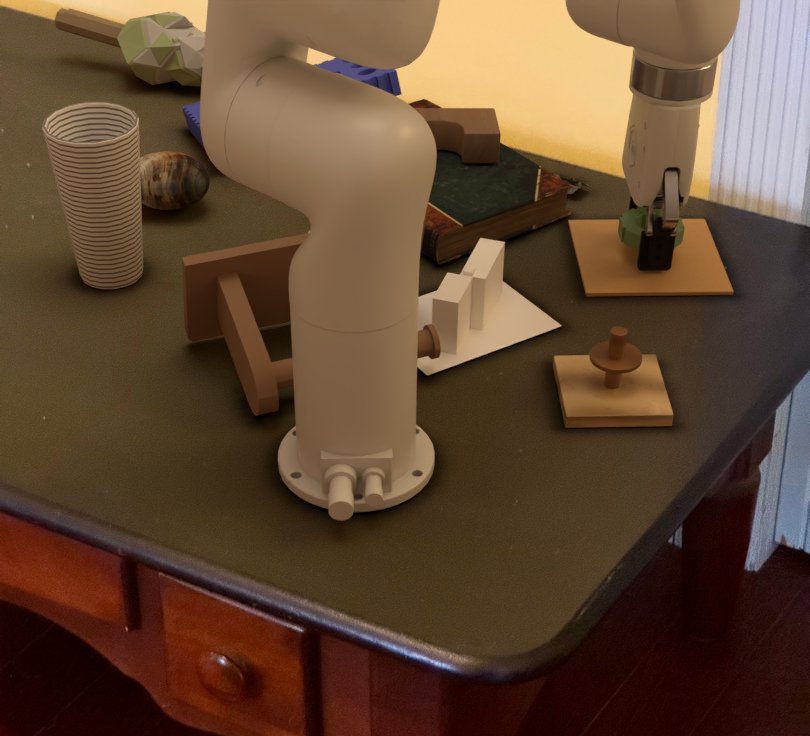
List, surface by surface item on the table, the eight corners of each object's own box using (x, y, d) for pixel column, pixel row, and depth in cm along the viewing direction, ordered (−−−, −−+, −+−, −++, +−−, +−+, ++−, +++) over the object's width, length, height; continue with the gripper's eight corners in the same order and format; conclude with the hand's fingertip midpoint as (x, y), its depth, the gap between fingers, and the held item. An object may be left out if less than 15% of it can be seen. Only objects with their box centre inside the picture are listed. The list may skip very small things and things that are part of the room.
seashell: (154, 198, 153) (107, 213, 146) (149, 142, 150) (100, 156, 144) (229, 204, 149) (184, 221, 142) (225, 148, 146) (178, 162, 140)
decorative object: (86, 35, 178) (264, 88, 172) (40, 68, 172) (224, 124, 166) (78, -35, 172) (264, 18, 166) (31, -3, 166) (222, 53, 159)
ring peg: (671, 426, 121) (682, 360, 117) (565, 428, 121) (572, 362, 116) (653, 365, 128) (663, 301, 123) (552, 366, 127) (558, 302, 123)
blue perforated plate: (323, 39, 170) (328, 61, 172) (144, 110, 162) (151, 132, 163) (439, 66, 151) (444, 90, 153) (243, 147, 143) (250, 172, 144)
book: (572, 217, 147) (425, 127, 162) (575, 184, 145) (426, 96, 160) (436, 267, 140) (295, 168, 155) (437, 234, 137) (294, 137, 152)
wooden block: (492, 137, 153) (351, 137, 152) (494, 107, 151) (350, 107, 150) (499, 163, 148) (352, 164, 147) (501, 133, 146) (352, 133, 145)
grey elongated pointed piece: (576, 199, 149) (590, 207, 152) (583, 177, 149) (598, 186, 151) (531, 189, 153) (546, 198, 155) (538, 168, 153) (553, 177, 155)
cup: (83, 247, 142) (60, 97, 132) (167, 255, 141) (150, 104, 131) (54, 293, 136) (27, 139, 125) (142, 301, 135) (122, 146, 124)
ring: (686, 252, 138) (688, 237, 137) (624, 252, 138) (626, 237, 137) (675, 221, 143) (677, 206, 141) (614, 221, 142) (616, 207, 141)
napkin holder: (489, 271, 139) (492, 217, 135) (563, 325, 132) (568, 270, 128) (358, 317, 133) (357, 262, 129) (428, 376, 126) (430, 320, 122)
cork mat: (733, 294, 137) (733, 291, 136) (586, 296, 136) (586, 293, 136) (704, 221, 147) (704, 218, 147) (567, 223, 147) (568, 219, 146)
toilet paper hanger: (226, 453, 123) (226, 381, 114) (185, 334, 129) (181, 257, 120) (460, 399, 128) (477, 327, 120) (410, 287, 134) (422, 211, 126)
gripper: (616, 35, 136) (597, 209, 148) (647, 115, 123) (623, 298, 135) (695, 35, 136) (670, 208, 148) (734, 115, 123) (702, 298, 135)
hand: (647, 249), depth 141 cm, fingers closed on ring, 6 cm apart
